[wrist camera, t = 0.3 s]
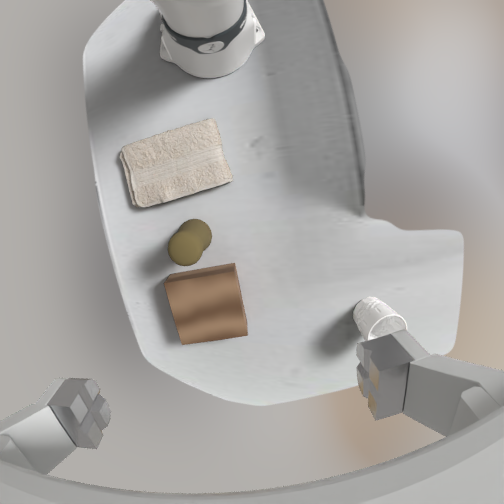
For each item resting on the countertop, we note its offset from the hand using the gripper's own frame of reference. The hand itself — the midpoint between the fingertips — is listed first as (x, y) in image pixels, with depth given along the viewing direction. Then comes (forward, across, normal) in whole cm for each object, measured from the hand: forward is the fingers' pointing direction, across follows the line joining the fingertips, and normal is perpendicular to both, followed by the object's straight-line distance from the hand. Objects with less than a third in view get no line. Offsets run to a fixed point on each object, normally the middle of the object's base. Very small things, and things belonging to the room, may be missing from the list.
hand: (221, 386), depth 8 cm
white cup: (+46, -22, +24) cm, 56 cm away
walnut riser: (+46, +8, +15) cm, 49 cm away
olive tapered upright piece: (+46, +8, +3) cm, 47 cm away
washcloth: (+46, +9, -10) cm, 49 cm away
